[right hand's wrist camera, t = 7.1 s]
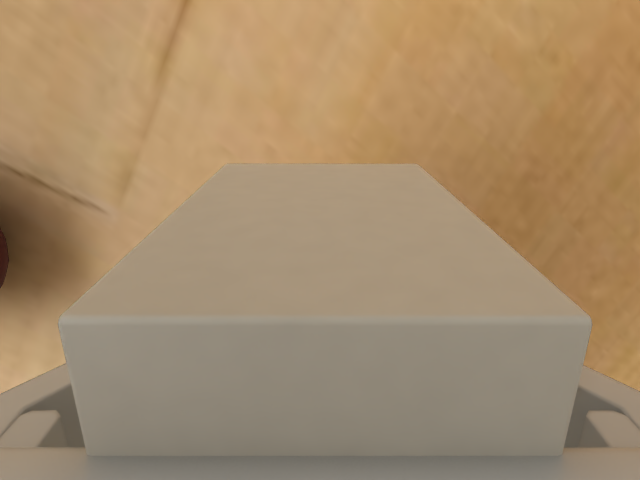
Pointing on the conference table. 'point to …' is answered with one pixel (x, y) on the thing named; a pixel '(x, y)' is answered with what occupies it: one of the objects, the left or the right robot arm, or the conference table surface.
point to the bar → (324, 326)
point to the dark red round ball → (3, 258)
